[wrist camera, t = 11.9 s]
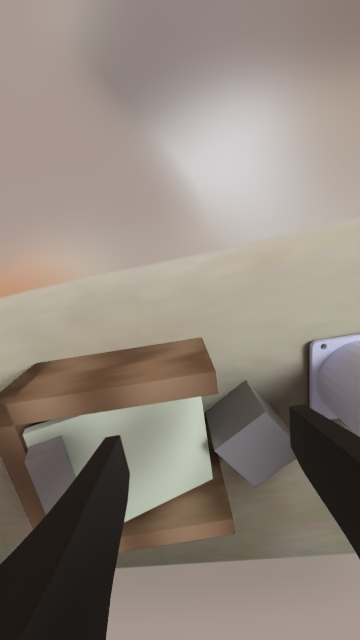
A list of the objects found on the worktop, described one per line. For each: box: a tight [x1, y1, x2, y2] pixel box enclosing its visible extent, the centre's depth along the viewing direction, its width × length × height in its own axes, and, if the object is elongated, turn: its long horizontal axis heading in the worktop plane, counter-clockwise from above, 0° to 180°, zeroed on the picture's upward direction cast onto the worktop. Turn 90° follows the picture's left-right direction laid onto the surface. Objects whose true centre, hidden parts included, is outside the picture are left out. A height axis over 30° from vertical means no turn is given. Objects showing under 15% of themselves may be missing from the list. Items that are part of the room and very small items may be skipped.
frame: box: [0, 338, 235, 552], centre depth 19 cm, size 14×14×6 cm
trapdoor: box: [23, 396, 213, 522], centre depth 17 cm, size 12×10×2 cm
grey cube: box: [206, 381, 296, 487], centre depth 20 cm, size 4×5×5 cm
